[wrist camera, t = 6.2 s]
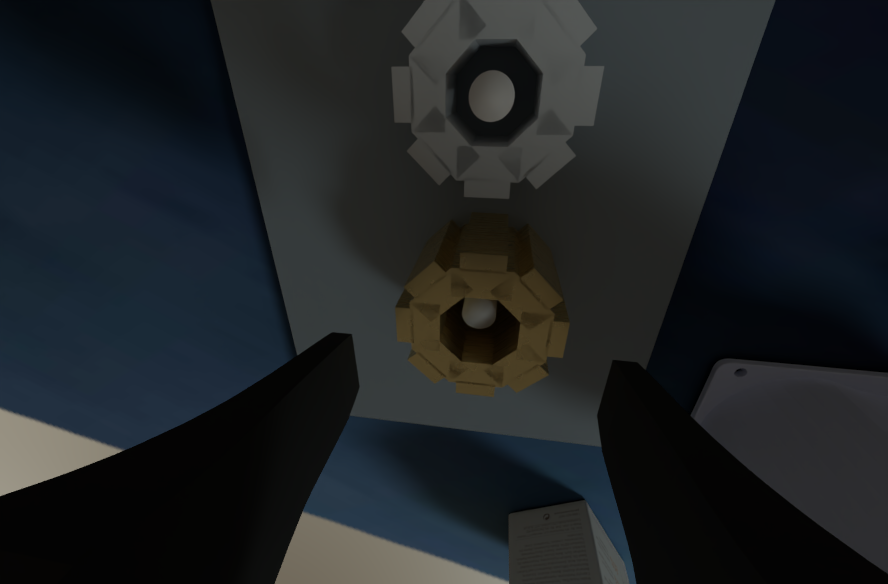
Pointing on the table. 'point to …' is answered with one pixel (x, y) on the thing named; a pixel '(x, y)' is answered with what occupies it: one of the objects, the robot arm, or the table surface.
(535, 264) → the brass gear
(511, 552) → the small box
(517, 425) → the gear board
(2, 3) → the table surface
